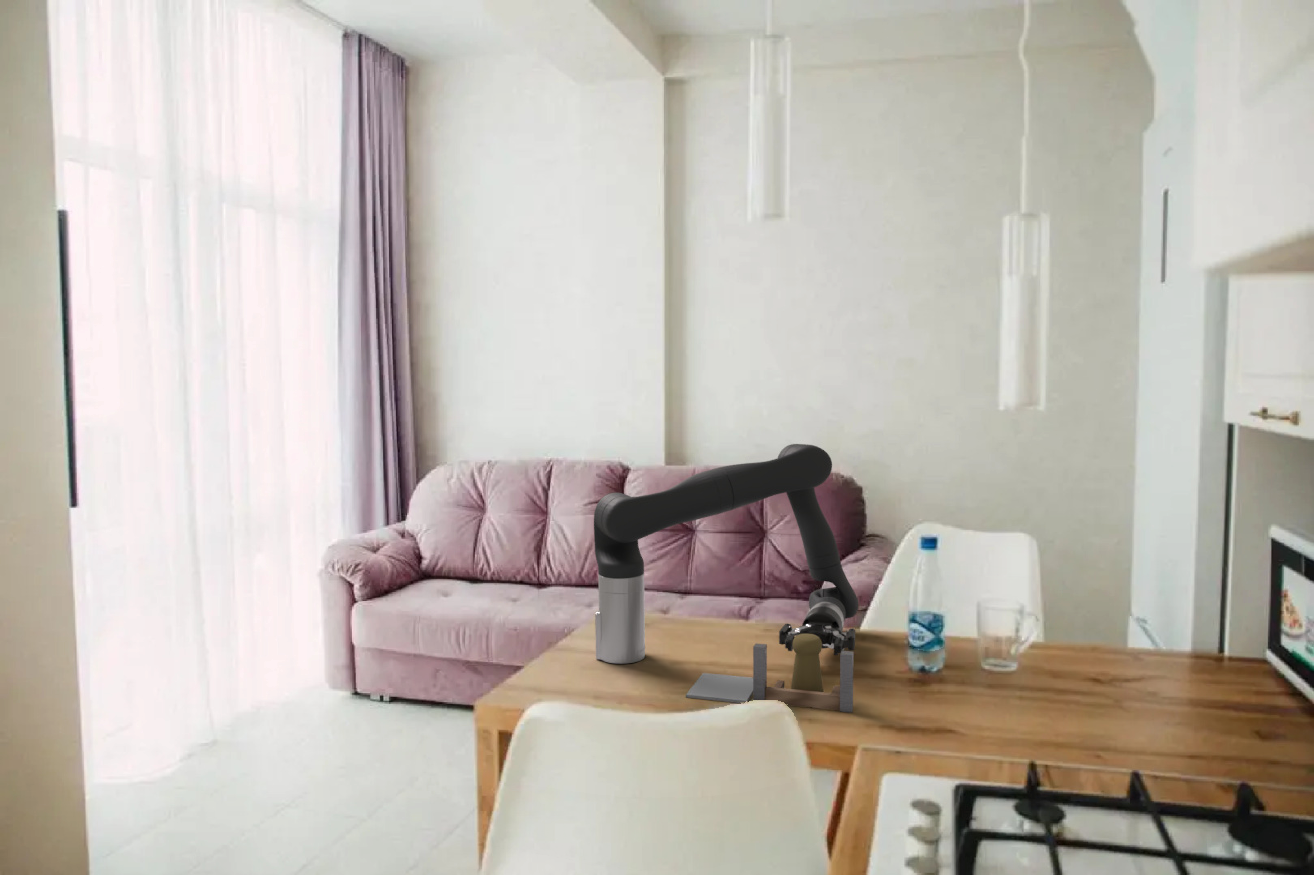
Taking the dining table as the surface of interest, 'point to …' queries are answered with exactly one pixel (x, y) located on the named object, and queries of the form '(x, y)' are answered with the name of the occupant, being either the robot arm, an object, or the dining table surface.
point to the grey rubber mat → (722, 688)
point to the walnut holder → (822, 700)
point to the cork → (807, 663)
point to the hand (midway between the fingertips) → (812, 648)
